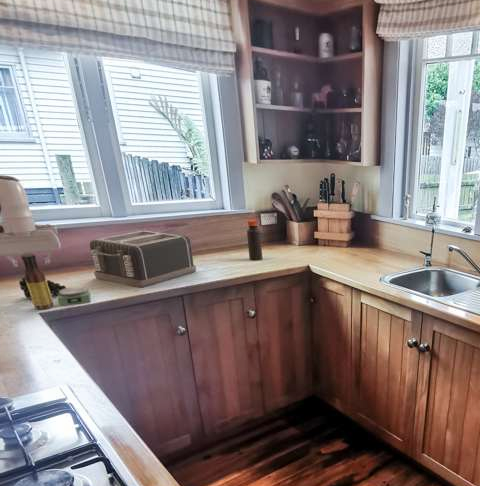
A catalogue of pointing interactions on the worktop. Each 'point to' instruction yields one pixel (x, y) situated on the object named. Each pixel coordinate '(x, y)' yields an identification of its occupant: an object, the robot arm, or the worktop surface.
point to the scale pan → (73, 291)
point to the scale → (75, 298)
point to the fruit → (52, 286)
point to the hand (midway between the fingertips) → (32, 264)
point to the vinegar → (254, 241)
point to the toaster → (142, 258)
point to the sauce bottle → (37, 283)
